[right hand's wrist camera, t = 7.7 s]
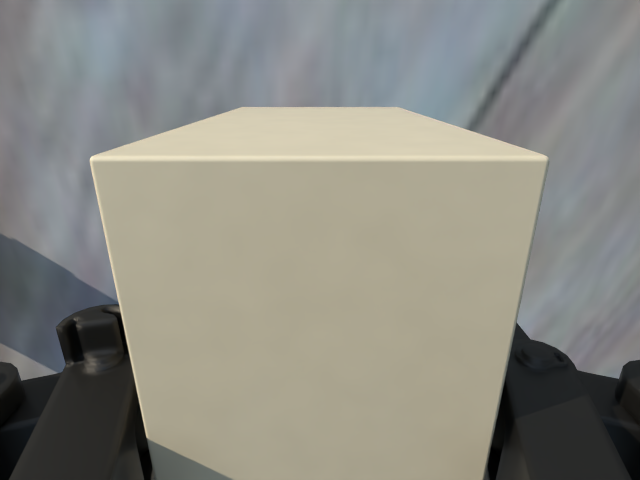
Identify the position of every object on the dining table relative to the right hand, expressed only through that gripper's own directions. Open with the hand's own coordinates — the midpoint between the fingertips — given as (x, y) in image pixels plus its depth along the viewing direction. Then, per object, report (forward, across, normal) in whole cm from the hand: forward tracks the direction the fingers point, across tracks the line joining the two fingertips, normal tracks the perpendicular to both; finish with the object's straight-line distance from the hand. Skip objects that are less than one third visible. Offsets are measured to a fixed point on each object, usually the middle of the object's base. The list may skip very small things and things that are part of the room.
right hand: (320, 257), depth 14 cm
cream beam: (0, 0, +8) cm, 8 cm away
